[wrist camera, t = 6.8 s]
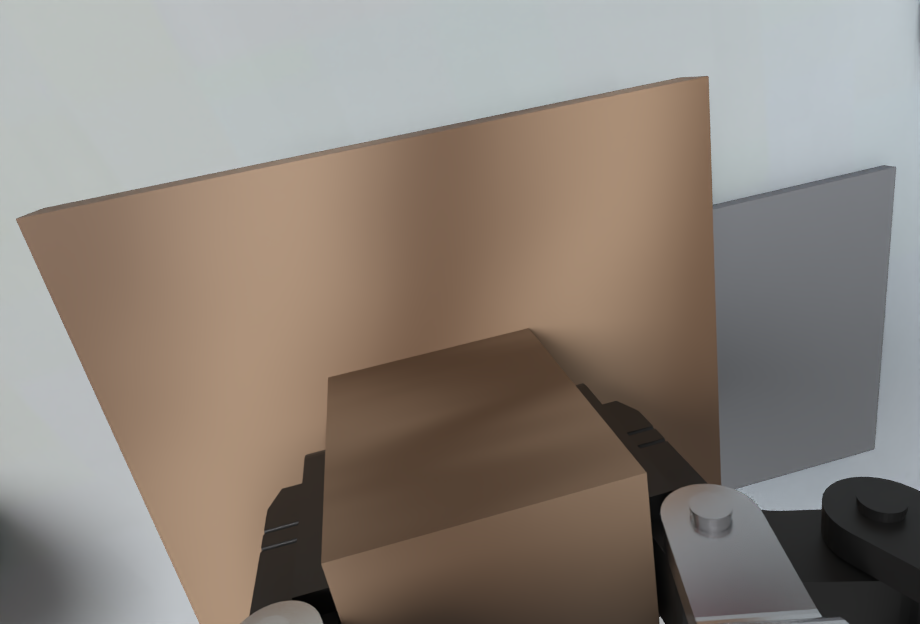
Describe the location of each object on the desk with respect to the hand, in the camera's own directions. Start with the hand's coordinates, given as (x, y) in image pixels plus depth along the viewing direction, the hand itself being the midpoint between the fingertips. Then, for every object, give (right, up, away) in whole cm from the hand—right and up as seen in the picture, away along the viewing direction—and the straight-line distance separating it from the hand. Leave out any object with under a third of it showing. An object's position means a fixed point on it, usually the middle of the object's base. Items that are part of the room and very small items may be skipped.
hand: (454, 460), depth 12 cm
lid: (0, +1, +2) cm, 2 cm away
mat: (+13, +1, +16) cm, 20 cm away
